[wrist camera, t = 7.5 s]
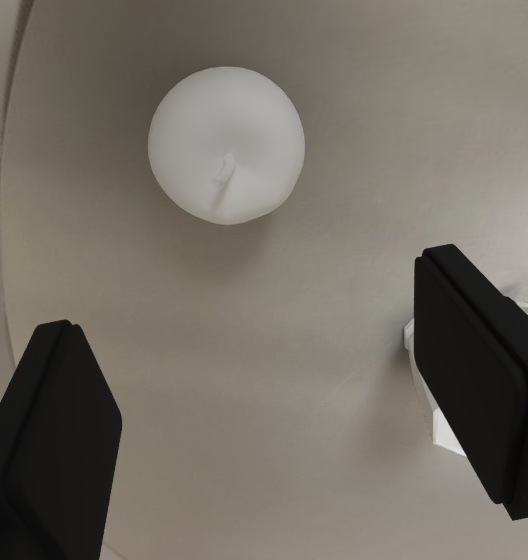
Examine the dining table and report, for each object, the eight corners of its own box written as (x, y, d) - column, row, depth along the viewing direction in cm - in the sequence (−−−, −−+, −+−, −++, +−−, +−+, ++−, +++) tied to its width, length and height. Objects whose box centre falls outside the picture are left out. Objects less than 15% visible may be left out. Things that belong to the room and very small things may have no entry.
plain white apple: (146, 55, 23) (125, 87, 16) (293, 54, 24) (330, 84, 17) (162, 193, 27) (149, 265, 20) (288, 189, 28) (317, 257, 21)
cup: (366, 323, 33) (410, 411, 27) (502, 247, 31) (586, 321, 24) (407, 382, 37) (454, 473, 30) (531, 316, 35) (613, 398, 28)
